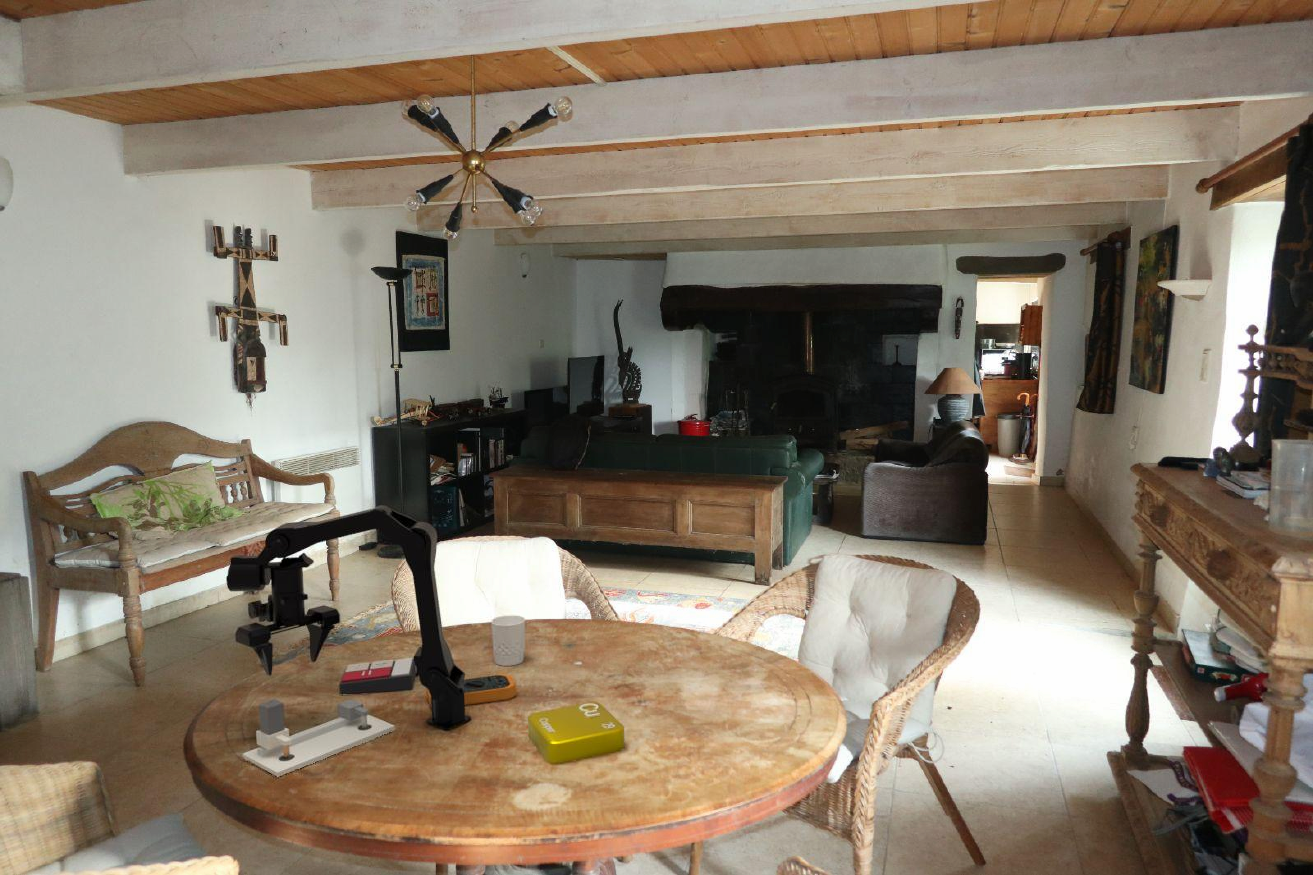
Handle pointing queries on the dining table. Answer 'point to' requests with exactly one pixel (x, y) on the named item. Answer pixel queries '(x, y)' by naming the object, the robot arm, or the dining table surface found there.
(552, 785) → the dining table surface
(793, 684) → the dining table surface
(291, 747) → the plate
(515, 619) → the white cup
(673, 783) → the dining table surface
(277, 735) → the block
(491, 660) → the dining table surface
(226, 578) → the robot arm
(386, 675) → the calculator
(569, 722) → the element tile
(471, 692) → the multimeter
